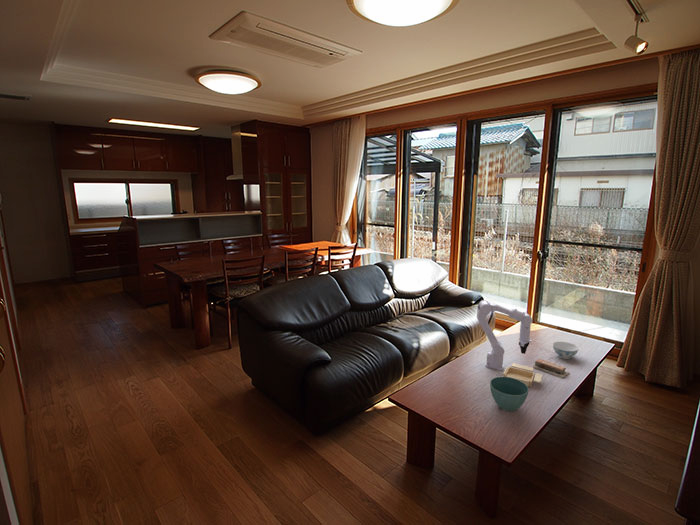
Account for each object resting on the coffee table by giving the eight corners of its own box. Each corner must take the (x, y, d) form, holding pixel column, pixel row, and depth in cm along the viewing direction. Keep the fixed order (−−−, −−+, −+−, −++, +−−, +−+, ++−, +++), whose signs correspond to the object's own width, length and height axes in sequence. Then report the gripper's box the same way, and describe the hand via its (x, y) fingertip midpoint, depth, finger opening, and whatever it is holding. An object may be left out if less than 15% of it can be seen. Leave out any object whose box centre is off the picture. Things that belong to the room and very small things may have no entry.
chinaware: (582, 361, 238) (583, 350, 236) (559, 362, 238) (560, 351, 237) (569, 351, 252) (570, 341, 251) (547, 352, 253) (548, 341, 251)
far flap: (533, 380, 208) (540, 381, 206) (536, 373, 216) (542, 374, 214) (533, 381, 208) (540, 383, 206) (535, 374, 216) (542, 375, 214)
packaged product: (533, 361, 230) (540, 356, 236) (532, 368, 231) (539, 363, 237) (563, 371, 216) (570, 366, 222) (562, 379, 217) (569, 374, 223)
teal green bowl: (534, 413, 184) (536, 391, 181) (504, 420, 179) (506, 397, 176) (509, 394, 201) (511, 374, 198) (481, 400, 196) (482, 379, 193)
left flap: (511, 365, 225) (512, 362, 228) (511, 366, 226) (512, 364, 228) (532, 370, 219) (533, 367, 221) (532, 372, 219) (533, 368, 222)
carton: (501, 380, 216) (502, 375, 216) (506, 371, 227) (506, 366, 226) (530, 387, 208) (531, 382, 207) (534, 378, 218) (534, 372, 217)
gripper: (530, 338, 217) (528, 359, 220) (533, 330, 229) (532, 350, 232) (517, 335, 221) (515, 356, 224) (521, 328, 233) (520, 347, 236)
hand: (523, 353), depth 228 cm, fingers closed
